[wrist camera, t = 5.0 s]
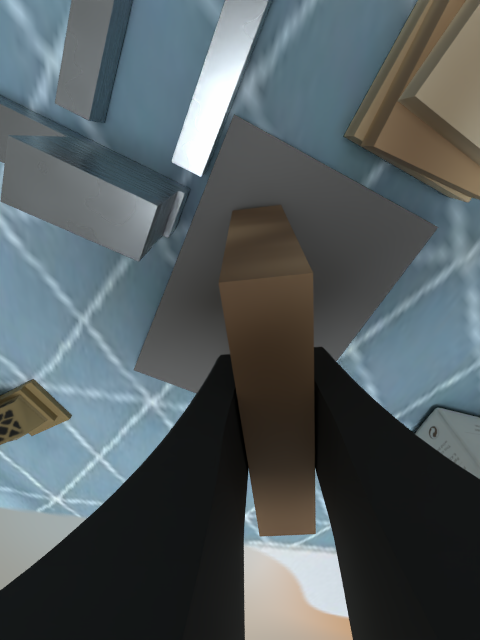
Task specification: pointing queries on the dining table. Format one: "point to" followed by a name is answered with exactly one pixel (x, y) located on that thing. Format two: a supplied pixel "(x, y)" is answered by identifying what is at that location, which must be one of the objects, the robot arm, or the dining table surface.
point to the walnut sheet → (272, 364)
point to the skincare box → (454, 437)
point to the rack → (92, 103)
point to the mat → (313, 236)
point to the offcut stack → (429, 100)
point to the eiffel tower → (28, 412)
